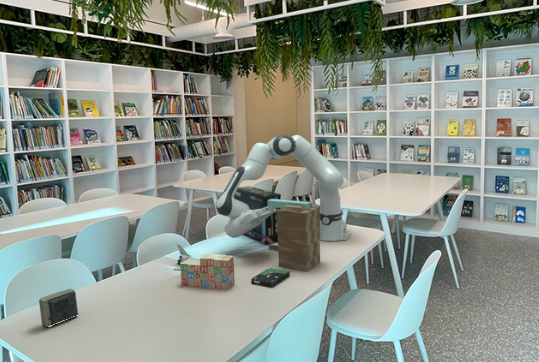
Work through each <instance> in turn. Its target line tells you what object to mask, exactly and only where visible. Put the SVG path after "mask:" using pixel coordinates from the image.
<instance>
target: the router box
mask: <svg viewBox="0 0 539 362" xmlns="http://www.w3.org/2000/svg"><path fill="white" fill-rule="evenodd" d="M281 197H282V194H281V193H277V192H272V191H269V190H267V189H266V190H265V189H261V188H257V187H253V186H250V185H247V186H241V187H240V186H239V187H238V189H237V191H236V192H235V194H234V199H236V200H239V201H241V202H243V203H245V204H247V205H248V206H249V208H250V210H257V209H262V208H265V207H267V206H268V200H270V199H279V200H282V199H281ZM275 209H276V210H279V209H281V208H275ZM243 236H245V237H248V238H250V239H252V240H254V241H256V242H259V243H260V244H263V245H265V246H267V245H271V244H274V243H277V242H278V225H277V212H276V211H275V212H274V213H273V214H271V215H270V216H269V217H267V218H266V219H265V221H263V222H261V223H260V224H259V225H258V226H257V227H255V228H253V229H252V230H249V231H247V232H246V233H245V234H243Z"/></svg>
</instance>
